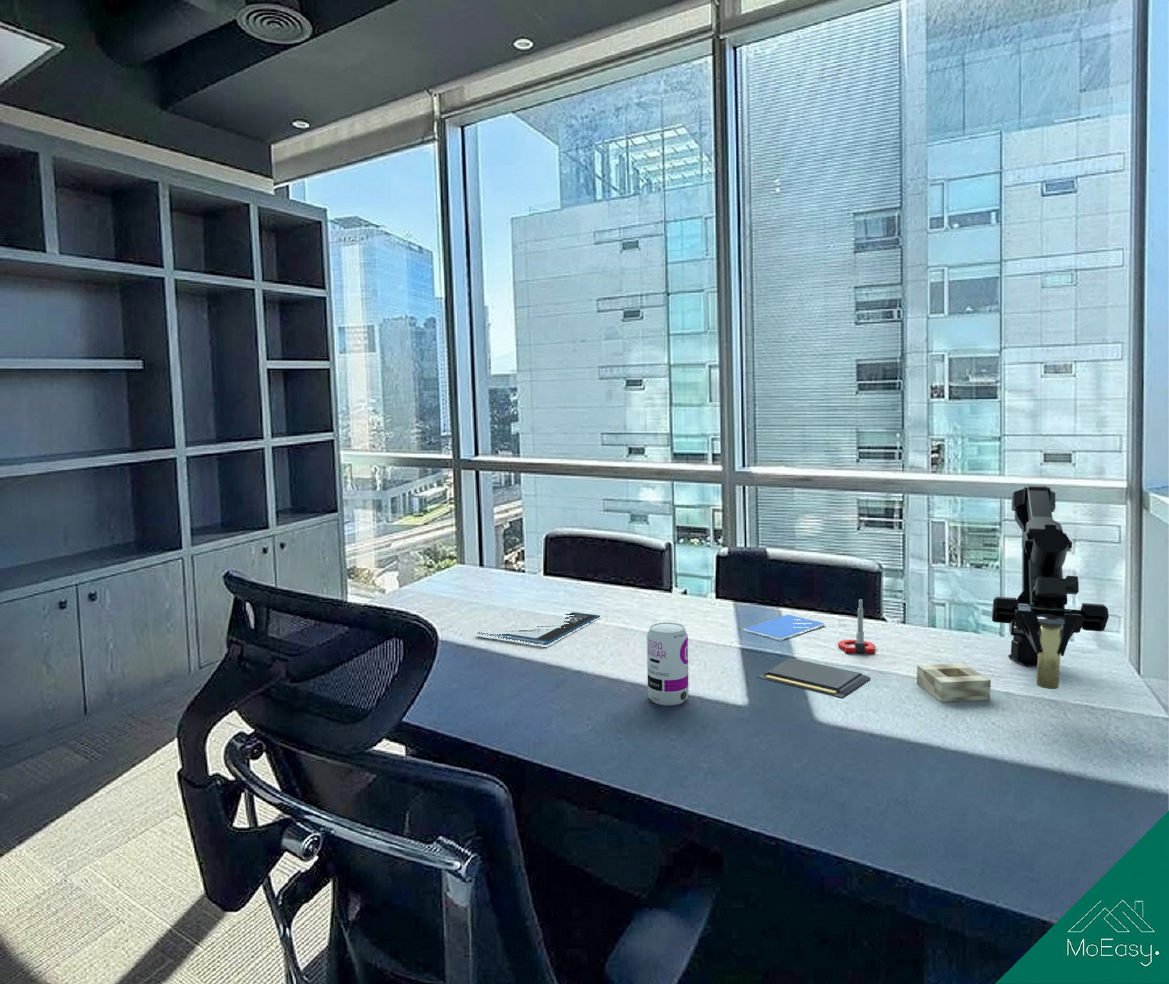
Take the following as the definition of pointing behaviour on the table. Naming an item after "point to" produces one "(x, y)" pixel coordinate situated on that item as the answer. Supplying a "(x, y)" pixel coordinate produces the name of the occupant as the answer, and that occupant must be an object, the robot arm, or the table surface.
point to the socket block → (953, 682)
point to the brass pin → (1049, 650)
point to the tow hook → (858, 638)
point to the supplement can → (667, 663)
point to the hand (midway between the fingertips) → (1050, 653)
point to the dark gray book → (816, 677)
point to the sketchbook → (550, 630)
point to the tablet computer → (783, 627)
